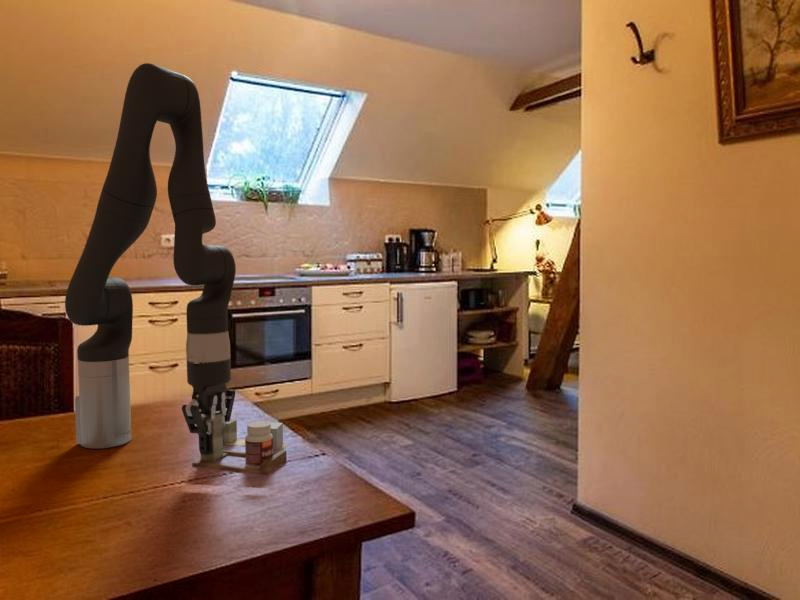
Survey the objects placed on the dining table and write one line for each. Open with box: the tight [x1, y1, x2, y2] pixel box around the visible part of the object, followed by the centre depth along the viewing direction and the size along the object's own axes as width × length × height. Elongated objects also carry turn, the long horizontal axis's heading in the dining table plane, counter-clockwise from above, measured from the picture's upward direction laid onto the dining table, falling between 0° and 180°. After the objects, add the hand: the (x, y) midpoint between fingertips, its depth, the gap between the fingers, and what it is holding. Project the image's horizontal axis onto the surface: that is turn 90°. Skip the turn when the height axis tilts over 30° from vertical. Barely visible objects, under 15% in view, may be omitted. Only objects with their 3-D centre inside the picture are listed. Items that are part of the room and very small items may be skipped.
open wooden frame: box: [192, 413, 287, 475], centre depth 108 cm, size 14×8×9 cm, turn 74°
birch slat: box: [223, 418, 290, 451], centre depth 118 cm, size 14×4×5 cm, turn 74°
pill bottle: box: [244, 420, 274, 469], centre depth 107 cm, size 5×5×8 cm
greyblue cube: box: [268, 421, 284, 449], centre depth 117 cm, size 4×4×4 cm
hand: (211, 450), depth 109 cm, fingers closed on open wooden frame, 3 cm apart
